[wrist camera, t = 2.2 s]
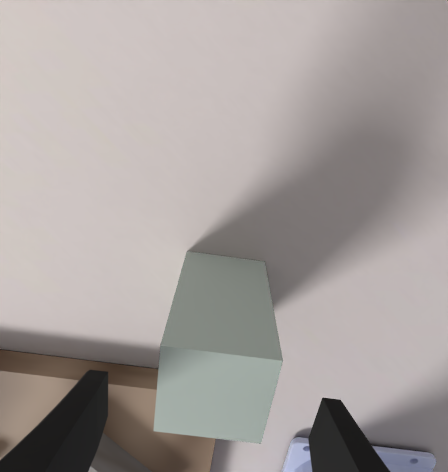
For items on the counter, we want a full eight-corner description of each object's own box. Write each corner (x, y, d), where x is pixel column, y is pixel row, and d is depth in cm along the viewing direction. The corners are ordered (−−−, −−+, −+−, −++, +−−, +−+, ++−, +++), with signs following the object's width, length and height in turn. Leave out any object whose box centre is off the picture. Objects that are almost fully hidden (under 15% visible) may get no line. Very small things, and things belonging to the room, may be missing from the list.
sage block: (264, 261, 18) (283, 361, 11) (251, 324, 19) (260, 443, 13) (187, 251, 18) (160, 345, 11) (180, 315, 19) (153, 431, 13)
